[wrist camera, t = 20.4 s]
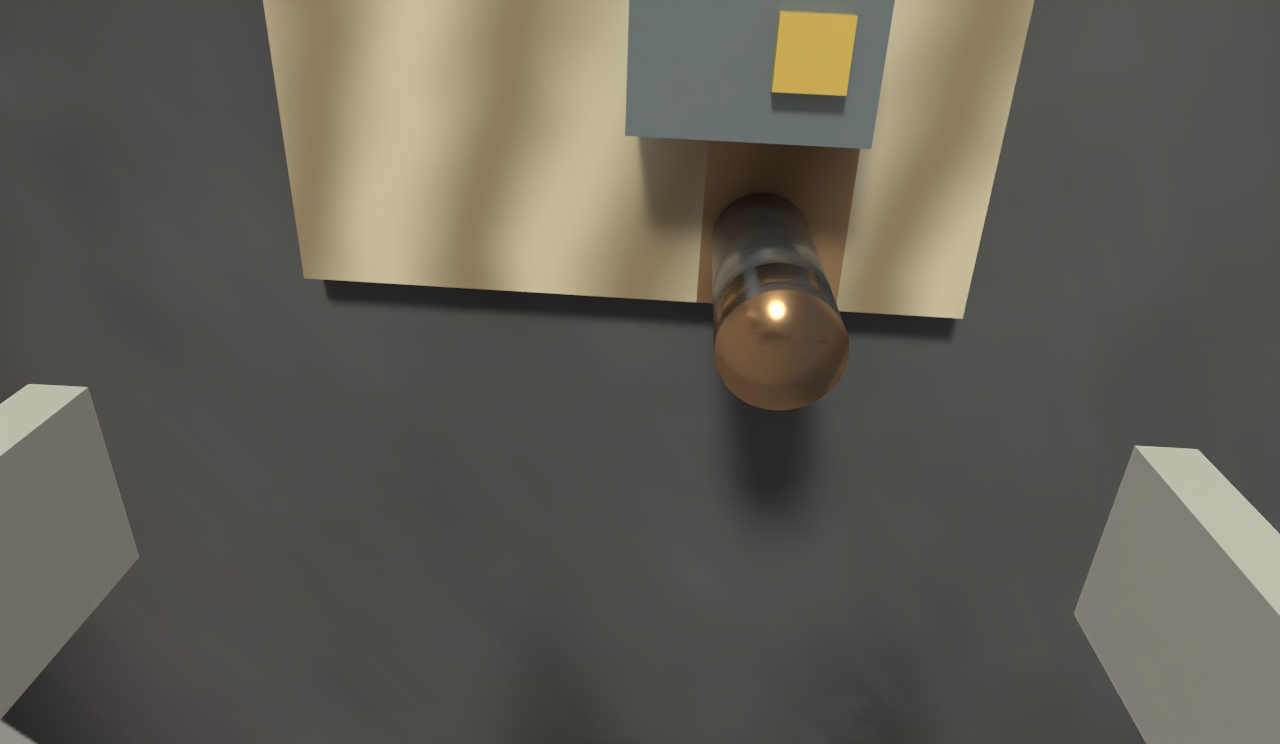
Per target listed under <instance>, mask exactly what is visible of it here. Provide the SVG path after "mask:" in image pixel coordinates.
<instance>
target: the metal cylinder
mask: <svg viewBox="0 0 1280 744" xmlns="http://www.w3.org/2000/svg"><path fill="white" fill-rule="evenodd" d="M711 254H712V291H713V329H714V358H715V365H716V368H717V371H718V374H719V376H720V378H721V380H722V381H723V383H724V384H725V386H726V387H727V388H728V389H729V390H730V391H731V392H732V393H733V394H734V395H735V396H736V397H738V398H739V399H741V400H742V401H744V402H746V403H748V404H750V405H752V406H755V407H758V408H762V409H767V410H791V409H795V408H800V407H803V406H806V405H808V404H810V403H812V402H814V401H816V400H818V399H819V398H821V397H822V396H824V395H825V394H826V393H827V392H829V391H830V390H831V389H832V388H833V387H834V386H835V384H836V383H837V382H838V380H839V379H840V377H841V375H842V373H843V372H844V369H845V367H846V364H847V360H848V354H849V340H848V336H847V332H846V329H845V326H844V323H843V321H842V318H841V315H840V312H839V310H838V307H837V304H836V301H835V299H834V296H833V293H832V290H831V288H830V285H829V282H828V279H827V277H826V274H825V271H824V268H823V265H822V263H821V260H820V257H819V254H818V252H817V249H816V246H815V243H814V241H813V238H812V235H811V232H810V230H809V227H808V224H807V221H806V219H805V217H804V215H803V214H802V212H801V211H800V210H799V208H798V207H797V206H796V205H795V204H793V203H792V202H791V201H789V200H788V199H786V198H784V197H782V196H779V195H776V194H772V193H753V194H749V195H746V196H743V197H741V198H739V199H737V200H735V201H733V202H732V203H731V204H729V205H728V206H727V207H726V208H725V209H724V210H723V211H722V213H721V214H720V215H719V217H718V218H717V220H716V222H715V225H714V228H713V231H712V237H711Z"/></svg>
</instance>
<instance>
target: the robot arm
mask: <svg viewBox="0 0 1280 744" xmlns="http://www.w3.org/2000/svg"><path fill="white" fill-rule="evenodd" d="M138 558H139V555H138V552H137V549H136V545H135V542H134V539H133V535H132V532H131V529H130V525H129V522H128V519H127V515H126V512H125V509H124V505H123V502H122V499H121V495H120V492H119V489H118V485H117V482H116V479H115V475H114V472H113V469H112V465H111V462H110V459H109V456H108V452H107V449H106V446H105V442H104V439H103V436H102V432H101V429H100V426H99V422H98V419H97V416H96V412H95V409H94V406H93V402H92V399H91V396H90V392H89V389H88V387H75V386H57V385H39V384H28V385H27V386H25V387H24V388H22V389H21V390H19V391H18V392H17V393H15V394H14V395H12V396H11V397H10V398H8V399H7V400H5V401H4V402H3V403H1V404H0V720H1V718H2V717H3V716H4V715H5V714H6V712H7V711H8V710H9V709H10V708H11V707H12V705H13V704H14V703H15V702H16V701H17V700H18V698H19V697H20V696H21V695H22V694H23V693H24V691H25V690H26V689H27V688H28V687H29V686H30V684H31V683H32V682H33V681H34V680H35V679H36V677H37V676H38V675H39V674H40V673H41V672H42V670H43V669H44V668H45V667H46V666H47V665H48V663H49V662H50V661H51V660H52V659H53V657H54V656H55V655H56V654H57V653H58V652H59V650H60V649H61V648H62V647H63V646H64V645H65V643H66V642H67V641H68V640H69V639H70V638H71V636H72V635H73V634H74V633H75V632H76V631H77V629H78V628H79V627H80V626H81V625H82V624H83V622H84V621H85V620H86V619H87V618H88V617H89V615H90V614H91V613H92V612H93V611H94V609H95V608H96V607H97V606H98V605H99V604H100V602H101V601H102V600H103V599H104V598H105V597H106V595H107V594H108V593H109V592H110V591H111V590H112V588H113V587H114V586H115V585H116V584H117V583H118V581H119V580H120V579H121V578H122V577H123V576H124V574H125V573H126V572H127V571H128V570H129V569H130V567H131V566H132V565H133V564H134V563H135V562H136V560H137V559H138ZM1074 615H1075V617H1076V619H1077V621H1078V622H1079V624H1080V626H1081V628H1082V630H1083V631H1084V633H1085V635H1086V637H1087V639H1088V640H1089V642H1090V644H1091V646H1092V647H1093V649H1094V651H1095V653H1096V655H1097V656H1098V658H1099V660H1100V662H1101V664H1102V665H1103V667H1104V669H1105V671H1106V673H1107V674H1108V676H1109V678H1110V680H1111V681H1112V683H1113V685H1114V687H1115V689H1116V690H1117V692H1118V694H1119V696H1120V698H1121V699H1122V701H1123V703H1124V705H1125V707H1126V708H1127V710H1128V712H1129V714H1130V715H1131V717H1132V719H1133V721H1134V723H1135V724H1136V726H1137V728H1138V730H1139V732H1140V733H1141V735H1142V737H1143V739H1144V741H1145V742H1146V744H1280V534H1279V533H1278V532H1277V531H1276V530H1275V529H1274V528H1273V527H1272V526H1271V525H1270V524H1269V523H1268V521H1267V520H1266V519H1265V518H1264V517H1263V516H1262V515H1261V514H1260V513H1259V512H1258V511H1257V510H1256V509H1255V508H1254V507H1253V506H1252V505H1251V504H1250V503H1249V502H1248V501H1247V500H1246V499H1245V498H1244V497H1243V496H1242V495H1241V494H1240V492H1239V491H1238V490H1237V489H1236V488H1235V487H1234V486H1233V485H1232V484H1231V483H1230V482H1229V481H1228V480H1227V479H1226V478H1225V477H1224V476H1223V475H1222V474H1221V473H1220V472H1219V471H1218V470H1217V469H1216V468H1215V467H1214V466H1213V465H1212V463H1211V462H1210V461H1209V460H1208V459H1207V458H1206V457H1205V456H1204V455H1203V454H1202V453H1201V452H1200V451H1199V450H1198V449H1185V448H1168V447H1150V446H1134V449H1133V452H1132V455H1131V457H1130V460H1129V463H1128V466H1127V468H1126V471H1125V474H1124V477H1123V479H1122V482H1121V485H1120V488H1119V490H1118V493H1117V496H1116V499H1115V501H1114V504H1113V507H1112V510H1111V512H1110V515H1109V518H1108V521H1107V523H1106V526H1105V529H1104V532H1103V534H1102V537H1101V540H1100V543H1099V545H1098V548H1097V551H1096V554H1095V556H1094V559H1093V562H1092V565H1091V567H1090V570H1089V573H1088V576H1087V578H1086V581H1085V584H1084V587H1083V589H1082V592H1081V595H1080V598H1079V600H1078V603H1077V606H1076V609H1075V611H1074Z"/></svg>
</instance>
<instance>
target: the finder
mask: <svg viewBox="0 0 1280 744" xmlns="http://www.w3.org/2000/svg"><path fill="white" fill-rule="evenodd" d="M894 3H895V0H629V24H628V57H627V90H626V123H625V136H637V137H655V138H674V139H692V140H711V141H729V142H748V143H766V144H785V145H803V146H822V147H840V148H859V149H871V147H872V141H873V134H874V128H875V122H876V116H877V109H878V103H879V97H880V91H881V84H882V78H883V72H884V65H885V59H886V53H887V47H888V40H889V34H890V28H891V21H892V15H893V9H894Z"/></svg>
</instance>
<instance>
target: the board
mask: <svg viewBox="0 0 1280 744" xmlns="http://www.w3.org/2000/svg"><path fill="white" fill-rule="evenodd" d="M263 4H264V11H265V18H266V24H267V31H268V38H269V45H270V51H271V58H272V65H273V72H274V78H275V85H276V92H277V98H278V105H279V112H280V119H281V125H282V132H283V139H284V146H285V152H286V159H287V166H288V173H289V179H290V186H291V193H292V200H293V206H294V213H295V220H296V227H297V233H298V240H299V247H300V254H301V260H302V267H303V274H304V278H307V279H323V280H339V281H356V282H372V283H388V284H405V285H421V286H437V287H454V288H470V289H486V290H502V291H519V292H535V293H551V294H568V295H584V296H600V297H616V298H633V299H649V300H665V301H682V302H698V303H713V291H712V254H711V237H712V231H713V228H714V225H715V222H716V220H717V218H718V217H719V215H720V214H721V213H722V211H723V210H724V209H725V208H726V207H727V206H728V205H729V204H731V203H732V202H733V201H735V200H737V199H739V198H741V197H743V196H746V195H749V194H753V193H772V194H776V195H779V196H782V197H784V198H786V199H788V200H789V201H791V202H792V203H793V204H795V205H796V206H797V207H798V208H799V210H800V211H801V212H802V214H803V215H804V217H805V219H806V221H807V224H808V227H809V230H810V232H811V235H812V238H813V241H814V243H815V246H816V249H817V252H818V254H819V257H820V260H821V263H822V265H823V268H824V271H825V274H826V277H827V279H828V282H829V285H830V288H831V290H832V293H833V296H834V299H835V301H836V304H837V307H838V310H839V311H845V312H861V313H877V314H893V315H910V316H926V317H942V318H959V319H963V314H964V310H965V305H966V301H967V296H968V292H969V288H970V283H971V279H972V274H973V270H974V265H975V261H976V257H977V252H978V248H979V243H980V239H981V234H982V230H983V226H984V221H985V217H986V212H987V208H988V203H989V199H990V195H991V190H992V186H993V181H994V177H995V172H996V168H997V164H998V159H999V155H1000V150H1001V146H1002V141H1003V137H1004V133H1005V128H1006V124H1007V119H1008V115H1009V110H1010V106H1011V102H1012V97H1013V93H1014V88H1015V84H1016V79H1017V75H1018V70H1019V66H1020V62H1021V57H1022V53H1023V48H1024V44H1025V39H1026V35H1027V31H1028V26H1029V22H1030V17H1031V13H1032V8H1033V4H1034V0H895V3H894V9H893V15H892V21H891V28H890V34H889V40H888V47H887V53H886V59H885V65H884V72H883V78H882V84H881V91H880V97H879V103H878V109H877V116H876V122H875V128H874V134H873V141H872V147H871V149H859V148H840V147H822V146H803V145H785V144H766V143H748V142H729V141H711V140H692V139H674V138H655V137H637V136H625V123H626V90H627V57H628V24H629V0H263Z"/></svg>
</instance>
